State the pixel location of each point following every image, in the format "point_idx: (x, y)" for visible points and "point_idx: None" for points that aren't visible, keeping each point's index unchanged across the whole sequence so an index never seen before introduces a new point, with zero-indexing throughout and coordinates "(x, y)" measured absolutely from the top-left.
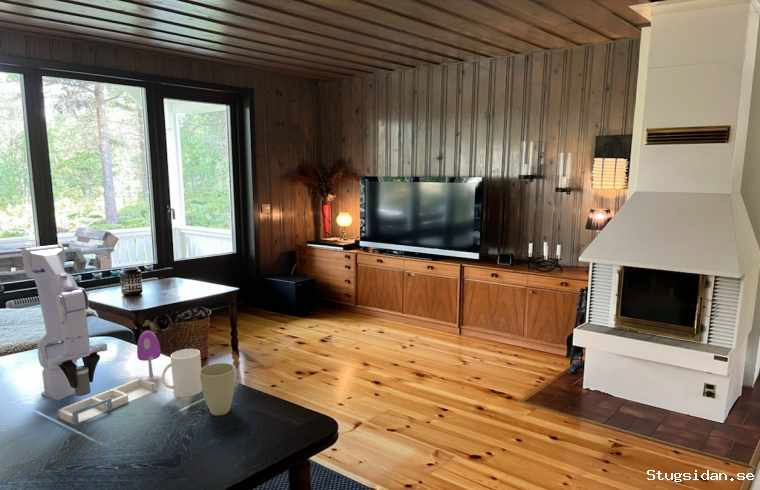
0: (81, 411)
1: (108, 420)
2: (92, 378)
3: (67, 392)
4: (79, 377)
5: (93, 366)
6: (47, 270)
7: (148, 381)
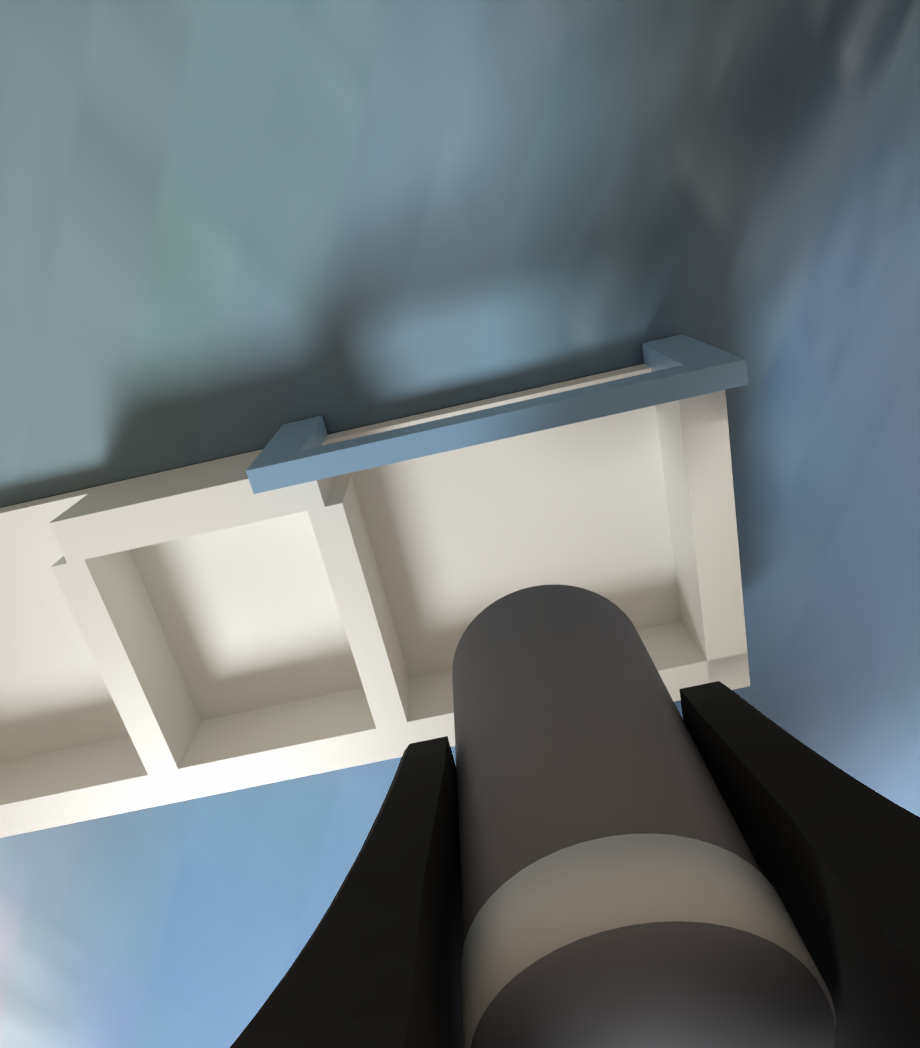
0: (640, 376)
1: (377, 228)
2: (409, 773)
3: None
4: (691, 794)
5: (349, 984)
6: None
7: None
